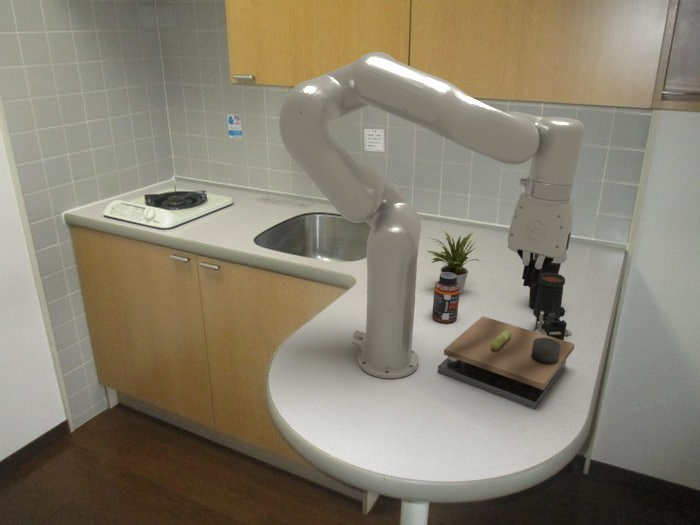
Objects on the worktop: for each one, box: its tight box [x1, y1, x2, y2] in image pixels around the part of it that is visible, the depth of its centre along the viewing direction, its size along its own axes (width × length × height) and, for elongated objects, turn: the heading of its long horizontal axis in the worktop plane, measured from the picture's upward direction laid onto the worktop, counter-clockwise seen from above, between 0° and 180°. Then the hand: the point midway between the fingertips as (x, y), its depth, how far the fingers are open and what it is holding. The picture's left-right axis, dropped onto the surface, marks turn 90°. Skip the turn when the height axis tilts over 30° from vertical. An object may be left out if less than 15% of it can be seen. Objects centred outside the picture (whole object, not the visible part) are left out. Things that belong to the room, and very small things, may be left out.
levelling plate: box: [443, 315, 575, 390], centre depth 114 cm, size 20×18×4 cm
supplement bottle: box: [432, 272, 460, 324], centre depth 136 cm, size 6×6×11 cm
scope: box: [532, 273, 573, 341], centre depth 129 cm, size 8×14×10 cm
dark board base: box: [437, 356, 567, 410], centre depth 117 cm, size 20×18×4 cm
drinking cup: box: [528, 254, 562, 311], centre depth 141 cm, size 8×8×20 cm
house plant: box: [427, 230, 481, 296], centre depth 150 cm, size 14×14×16 cm
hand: (530, 284), depth 108 cm, fingers closed
